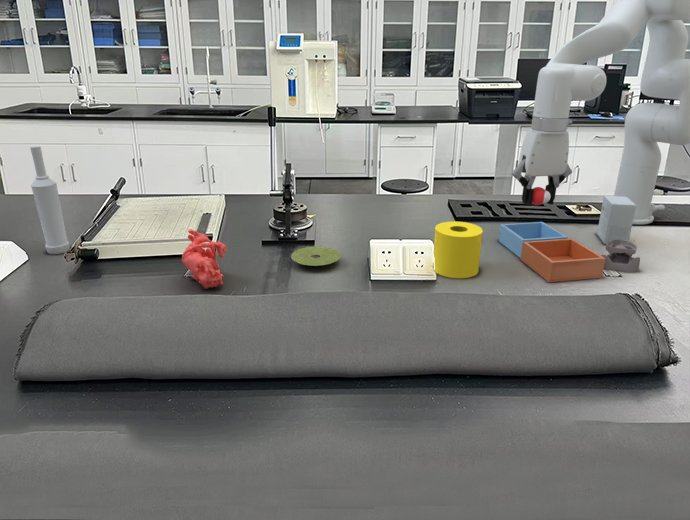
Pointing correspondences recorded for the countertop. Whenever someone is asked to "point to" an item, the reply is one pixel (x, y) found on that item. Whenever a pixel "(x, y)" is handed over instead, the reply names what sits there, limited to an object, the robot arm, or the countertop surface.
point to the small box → (616, 218)
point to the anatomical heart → (203, 259)
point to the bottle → (48, 207)
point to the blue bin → (526, 234)
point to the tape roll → (457, 249)
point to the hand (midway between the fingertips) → (537, 202)
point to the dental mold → (621, 256)
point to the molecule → (540, 196)
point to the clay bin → (562, 260)
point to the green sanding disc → (315, 256)
